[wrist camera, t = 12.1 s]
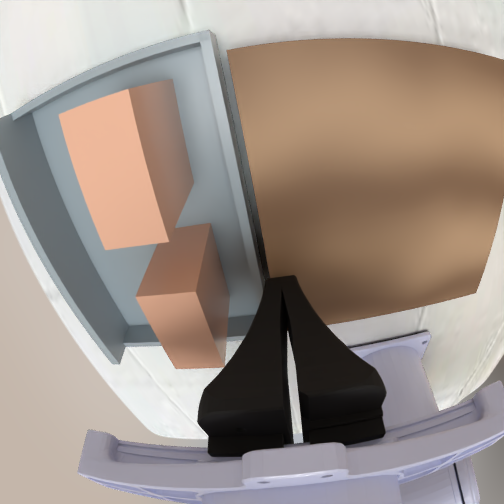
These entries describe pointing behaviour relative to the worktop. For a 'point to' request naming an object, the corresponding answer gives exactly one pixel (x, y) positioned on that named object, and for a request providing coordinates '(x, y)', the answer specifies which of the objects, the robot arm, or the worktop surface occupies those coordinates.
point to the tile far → (188, 298)
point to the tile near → (131, 163)
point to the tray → (77, 213)
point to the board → (373, 168)
